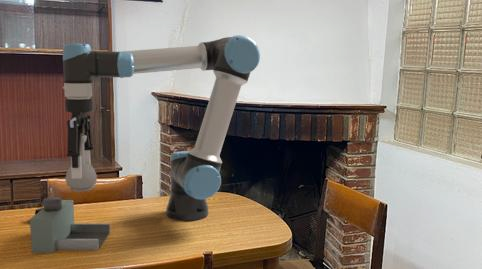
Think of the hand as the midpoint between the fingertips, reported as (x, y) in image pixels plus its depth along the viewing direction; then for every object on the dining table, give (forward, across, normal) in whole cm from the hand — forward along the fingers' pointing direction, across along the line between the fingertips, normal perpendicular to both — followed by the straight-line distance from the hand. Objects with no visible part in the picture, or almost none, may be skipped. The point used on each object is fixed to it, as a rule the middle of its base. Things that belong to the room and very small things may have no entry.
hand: (81, 174), depth 134 cm
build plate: (+21, -18, -19) cm, 34 cm away
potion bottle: (+4, 0, 0) cm, 4 cm away
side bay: (+21, 0, 0) cm, 21 cm away
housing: (+21, 0, -9) cm, 22 cm away
